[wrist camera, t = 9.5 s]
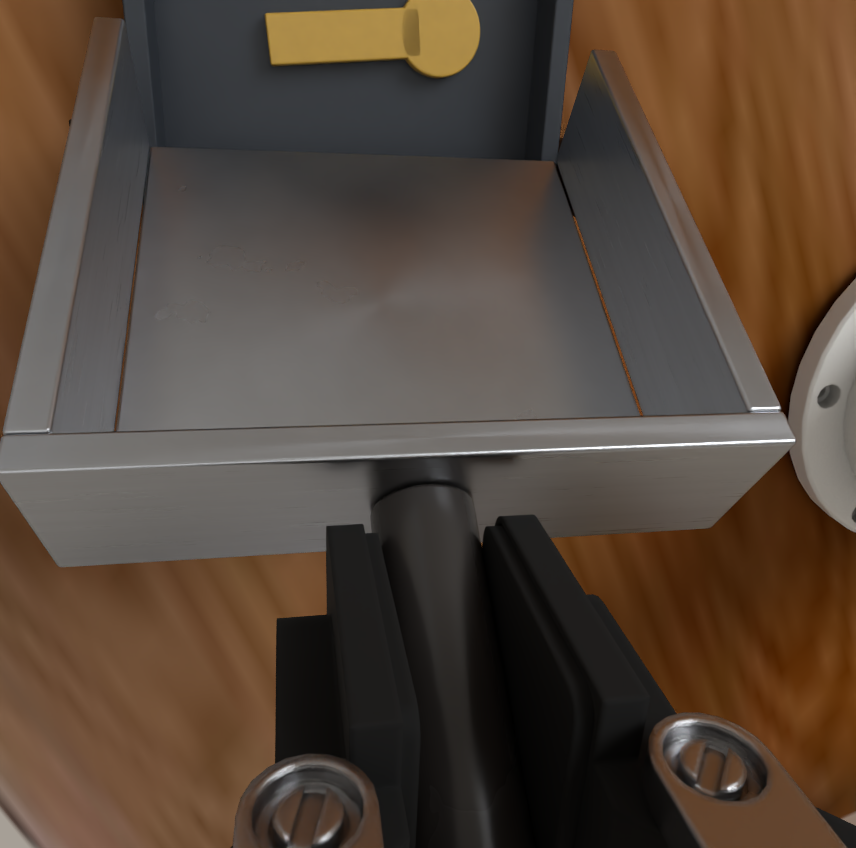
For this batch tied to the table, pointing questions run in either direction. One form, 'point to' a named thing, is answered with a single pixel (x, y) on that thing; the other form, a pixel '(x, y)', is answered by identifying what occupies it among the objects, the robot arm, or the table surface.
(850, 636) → the table surface
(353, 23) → the key
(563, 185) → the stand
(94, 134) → the scoop
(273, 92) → the tray
